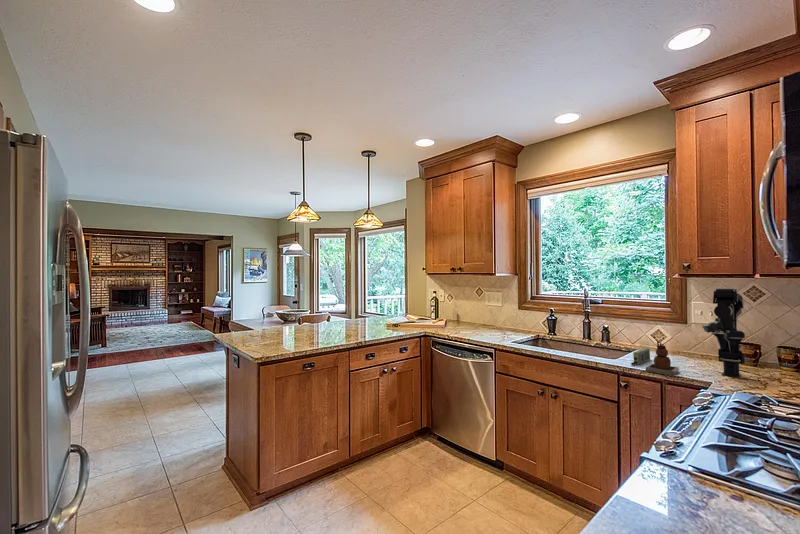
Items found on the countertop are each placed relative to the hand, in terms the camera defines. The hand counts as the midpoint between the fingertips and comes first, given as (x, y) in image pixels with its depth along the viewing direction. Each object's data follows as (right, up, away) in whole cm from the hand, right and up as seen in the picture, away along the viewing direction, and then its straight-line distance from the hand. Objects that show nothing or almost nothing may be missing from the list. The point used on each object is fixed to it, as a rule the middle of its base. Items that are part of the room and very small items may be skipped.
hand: (727, 351), depth 173 cm
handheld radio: (-15, -15, +38) cm, 43 cm away
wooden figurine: (-17, -14, +17) cm, 28 cm away
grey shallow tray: (-17, -14, +17) cm, 28 cm away
